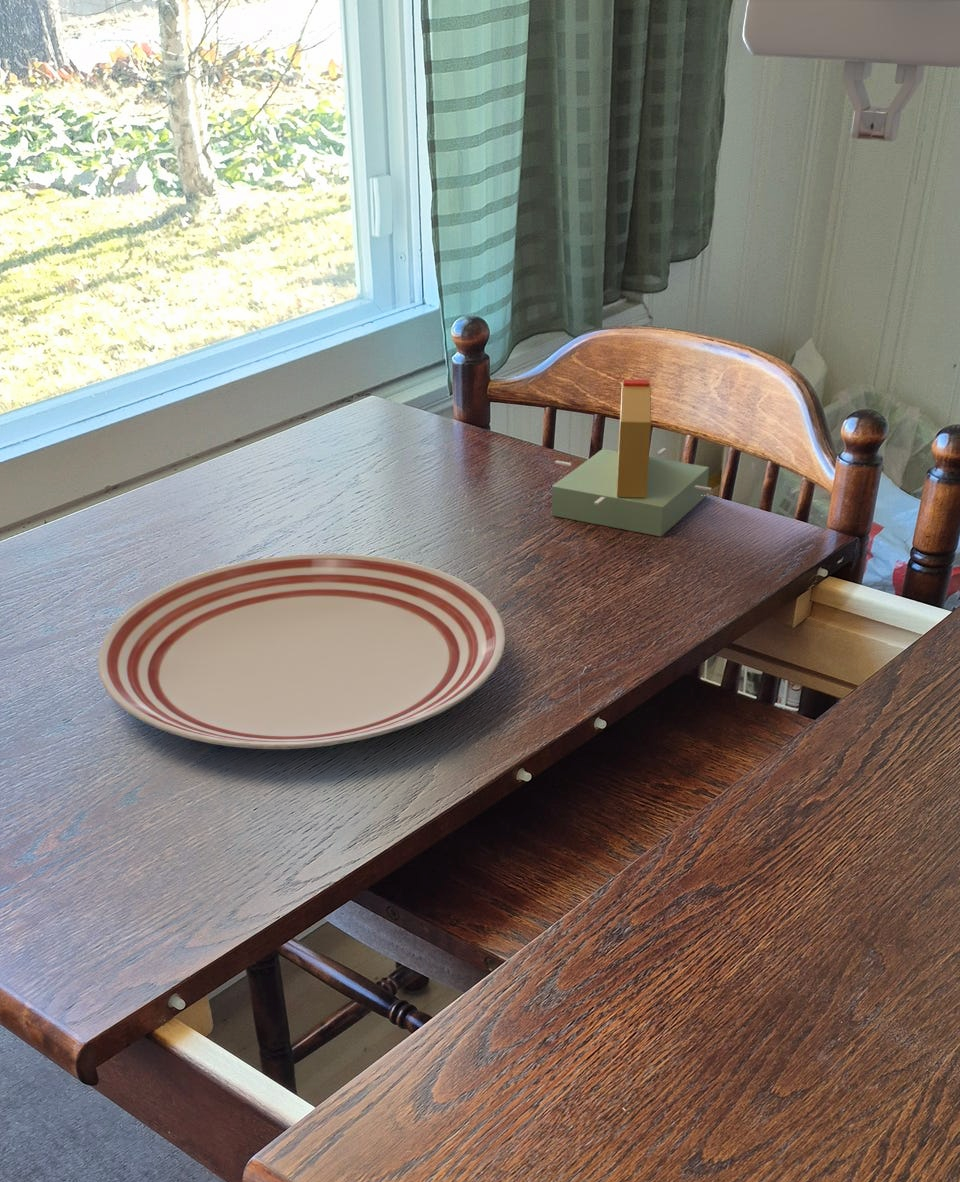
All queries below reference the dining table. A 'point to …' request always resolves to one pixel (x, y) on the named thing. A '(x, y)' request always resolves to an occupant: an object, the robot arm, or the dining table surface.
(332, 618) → the dinner plate
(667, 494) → the green base slab
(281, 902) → the dining table surface
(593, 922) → the dining table surface
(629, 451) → the tan box
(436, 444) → the dining table surface
